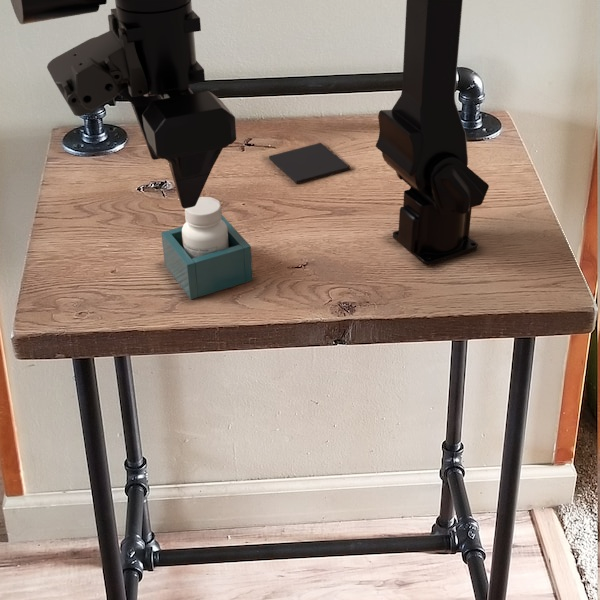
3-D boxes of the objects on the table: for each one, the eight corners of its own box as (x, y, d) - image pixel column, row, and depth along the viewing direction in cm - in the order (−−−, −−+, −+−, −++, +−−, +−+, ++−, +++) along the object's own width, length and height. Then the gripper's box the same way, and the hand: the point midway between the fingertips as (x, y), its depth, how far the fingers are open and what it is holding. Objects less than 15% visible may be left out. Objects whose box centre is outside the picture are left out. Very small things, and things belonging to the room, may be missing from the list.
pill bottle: (204, 256, 100) (199, 189, 95) (239, 269, 98) (235, 201, 93) (176, 276, 97) (169, 208, 92) (211, 290, 95) (206, 222, 90)
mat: (320, 145, 119) (320, 142, 119) (349, 169, 114) (349, 166, 114) (268, 159, 116) (268, 156, 116) (296, 184, 111) (296, 181, 111)
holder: (224, 248, 101) (222, 214, 98) (252, 280, 96) (251, 246, 94) (164, 266, 98) (160, 232, 96) (190, 299, 94) (187, 265, 91)
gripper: (25, -21, 79) (56, 153, 88) (73, 61, 65) (105, 258, 74) (158, -40, 82) (175, 130, 92) (232, 35, 68) (243, 226, 78)
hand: (172, 181), depth 84 cm, fingers open, 9 cm apart
